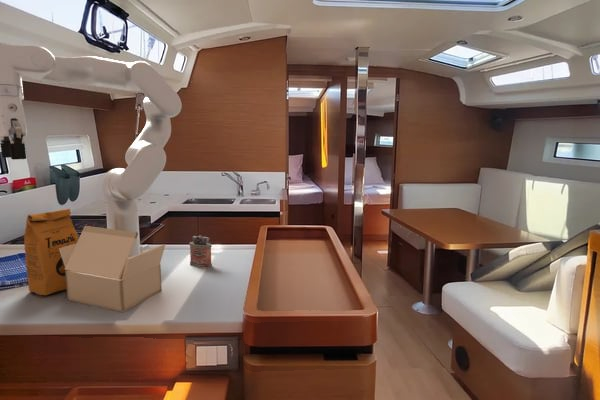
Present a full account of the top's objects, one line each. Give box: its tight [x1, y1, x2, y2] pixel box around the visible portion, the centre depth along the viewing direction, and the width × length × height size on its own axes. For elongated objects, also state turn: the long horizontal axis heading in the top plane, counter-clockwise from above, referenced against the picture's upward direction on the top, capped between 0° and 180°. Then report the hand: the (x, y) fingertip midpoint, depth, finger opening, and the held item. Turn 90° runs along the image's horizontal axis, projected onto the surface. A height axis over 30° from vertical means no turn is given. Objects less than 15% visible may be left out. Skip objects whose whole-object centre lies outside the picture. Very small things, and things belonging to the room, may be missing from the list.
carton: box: [59, 243, 166, 313], centre depth 100 cm, size 14×22×14 cm, turn 71°
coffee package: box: [23, 208, 79, 296], centre depth 104 cm, size 10×12×22 cm
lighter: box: [188, 235, 213, 268], centre depth 126 cm, size 8×3×10 cm, turn 68°
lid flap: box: [65, 225, 138, 280], centre depth 96 cm, size 12×17×1 cm
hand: (14, 158), depth 103 cm, fingers open, 9 cm apart
